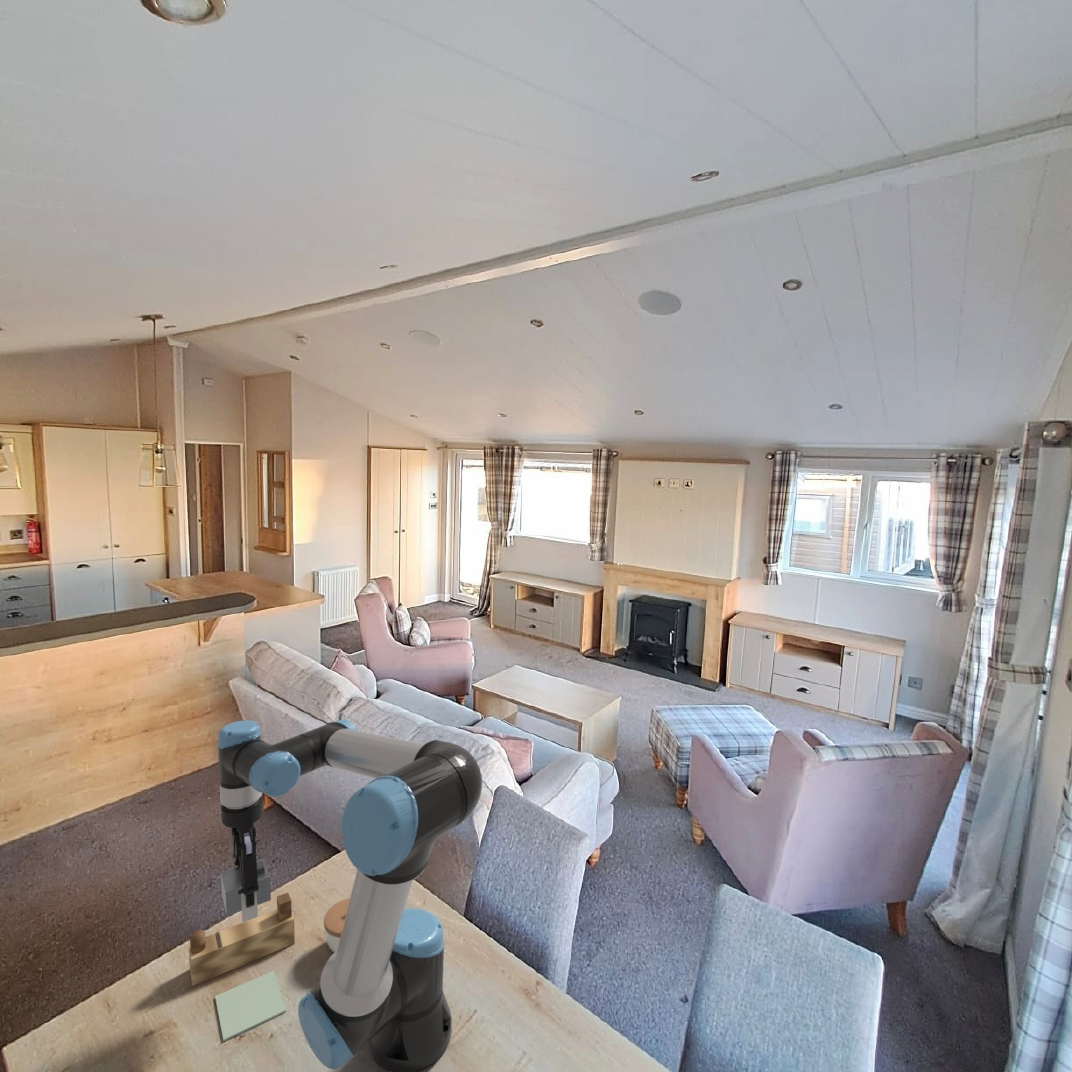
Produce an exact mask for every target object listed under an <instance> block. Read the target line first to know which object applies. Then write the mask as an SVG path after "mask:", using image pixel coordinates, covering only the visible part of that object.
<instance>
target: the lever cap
mask: <svg viewBox="0 0 1072 1072" xmlns="http://www.w3.org/2000/svg"><path fill="white" fill-rule="evenodd" d="M256 861H257V877H258V886H259V888H258V891H257V906H260V905H262V904H264V903H267V902H270V901H272V895H271V875H270V873H269V870H268V867H267V864H266V862H265V858H261V859H256ZM220 880H221V883H220V884H221V897H222V902H223V907H224V911H225V915H226V917H228V916H233V915H234V914H237V913H239V912H240V913H241V912H242V904H241V894H238V890H241V889H242V881H241V870H240V866H239V867H238V866H235V867H233V868H229V869H227V870H224V871H221V872H220Z"/></svg>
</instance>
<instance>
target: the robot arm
mask: <svg viewBox="0 0 1072 1072" xmlns="http://www.w3.org/2000/svg"><path fill="white" fill-rule="evenodd" d="M217 734H218V738H217V739H218V740H217V743H218V744H217V750H218V751H217V752H218V753H217V754H218V755H217V756H218V770H219V771H218V772H219V798H220V804H221V806H220V810H221V811H220V815H221V823H222V825H223V826H225V827H227V828H231V829H230V830H231V835H232V836H231V837H232V845H233V846H232V848H233V849H232V851H233V852H232V853H233V854H232V857H233V859H234V863H233V864H234V866H235V867H239V866H240V870H241V881H242V889H241V890H238V894H241V904H242V911H241V920H242V923H243V922H246V921H249V920H251V919H254V918H257V917H259V914H258V913H259V910H258V905H257V891H258V888H259V886H258V877H257V845H258V844H257V841H256V836H257V831H256V826H254V823H256V822H258V821H260V819H261V818H262V817H263V815H264V797H263V794H265V795H266V796H269V797H275V798H276V797H280V796H283V795H285V794H287V793H288V792H290V790H291V789H292V788H293V787H295V786H296V784H297V783H298V781H299V779H300V777H302V776H304V775H307V774H309V773H311V772H313V771H316V770H319V769H320V768H321V769H322V768H323V767H327V766H328V767H331V768H335V769H339V770H341V771H342V770H343V771H347V772H350V773H353V774H357V775H361V776H364V777H368V778H372V780H371V781H369V782H368V783H367V784H365V785H364V786H362V787H361V788H359V789H358V790H356V791H355V792H354V793H353V794H352V795H351V797H350V798H349V799H348V801H347V803H346V805H345V806H344V809H343V813H342V816H341V825H340V827H341V834H342V835H343V836H344V839H343V840H342V844H343V848H344V850H345V853H346V855H347V858H348V859H349V861H350V862H351V864H352V865H353V866H354V868H356V874H355V878H354V881H353V885H352V890H351V894H350V901H349V905H348V909H347V913H346V917H345V921H344V925H343V929H342V933H341V937H340V941H339V945H338V949H337V951H336V952H335V953H334V952H333V953H332V954H331V956H329V958H328V960H327V961H326V962H325V964H324V966H323V968H322V972H321V974H320V980H319V982H318V984H317V985H316V987H315V988H314V989H312V990H311V991H310V990H308V991H307V992H306V994H305V995H304V996H303V997H302V998H301V999H300V1001H299V1003H298V1008H297V1011H298V1012H297V1013H298V1020H299V1023H300V1027H301V1030H302V1033H303V1035H304V1037H305V1040H306V1042H307V1044H308V1046H309V1047H310V1049H311V1051H312V1053H313V1055H315V1057H316V1058H317V1060H318V1061H319V1062H320V1063H321V1064H322V1065H323V1066H324V1067H326V1068H328V1069H329V1070H337V1069H339V1068H341V1067H342V1066H344V1065H345V1064H346V1063H347V1062H349V1061H350V1060H351V1059H354V1056H355V1054H357V1053H359V1051H360V1050H361V1049H362V1048H364V1046H366V1045H367V1044H368V1043H369V1042H370V1043H369V1044H370V1045H369V1047H370V1051H371V1055H372V1057H373V1059H374V1061H375V1062H376V1063H377V1064H378V1066H380V1067H381V1068H382V1069H384V1070H386V1071H387V1072H422V1071H423V1070H426V1069H427V1068H429V1067H431V1066H432V1065H434V1064H435V1063H436V1062H437V1061H438V1060H439V1059H440V1058H441V1057H442V1056H443V1055H444V1053H445V1052H446V1050H447V1049H448V1046H449V1045H450V1041H451V1037H452V1029H453V1028H452V1026H453V1025H452V1023H453V1022H452V1013H451V1010H450V1009H451V1008H450V1006H449V1004H448V1002H447V1001H448V1000H447V998H446V996H445V993H444V990H443V989H444V987H443V986H444V956H445V955H444V953H445V952H444V951H445V939H444V930H443V924H442V923H441V921H440V920H439V918H438V917H437V916H436V915H435V914H433V913H432V912H430V911H428V910H425V909H421V908H418V907H417V908H411V907H410V908H405V907H406V906H407V905H406V904H407V901H408V897H409V893H410V889H411V887H412V883H413V881H414V880H416V879H417V878H419V877H420V876H421V875H422V873H424V871H425V869H426V868H427V866H428V863H429V861H430V858H431V854H432V851H433V847H434V844H435V843H436V842H437V840H438V839H440V838H441V837H443V836H444V835H445V834H447V833H448V832H450V831H451V830H453V829H454V828H456V827H457V826H458V825H460V824H462V823H463V822H464V821H466V820H467V819H468V818H469V817H470V816H471V815H472V814H473V812H474V811H475V809H476V807H477V805H478V804H479V801H480V798H481V794H482V790H483V775H482V772H481V769H480V766H479V764H478V763H479V762H477V759H476V758H475V757H474V755H472V753H470V751H468V750H467V749H466V748H464V747H462V746H460V745H458V744H456V743H453V742H449V741H444V740H437V739H433V740H429V741H426V742H425V743H421V742H417V741H416V742H415V741H410V740H407V739H401V738H395V737H390V736H385V735H380V734H375V733H369V732H365V731H359V730H357V727H356V726H355V724H353V723H352V722H351V721H350V720H348V719H340V720H336V721H330V722H328V723H326V724H323V725H322V726H319V727H317V728H314V729H311V730H309V731H306V732H303V733H300V734H298V735H295V736H292V737H290V738H288V739H284V740H281V741H279V742H276V743H274V744H270V743H268V742H266V741H265V740H262V732H261V727H260V724H259V723H258V722H257V721H254V720H248V719H247V720H237V721H234V722H230V723H228V724H226V725H224V726H222V727H221V729H220V730H219V731H218V733H217Z"/></svg>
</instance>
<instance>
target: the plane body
mask: <svg viewBox="0 0 1072 1072" xmlns="http://www.w3.org/2000/svg"><path fill="white" fill-rule="evenodd" d="M292 911H293V910H292V899H291V897H290V894H289V892H285V893H283V894H279V895H278V896H277V895H276V909H275V910H272V911H271V912H267V913H265V914H262V915H258V917H256V918H254V919H251V920H248V921H246V922H243V921H242V922H241V923H239V924H236V925H233V926H231V927H228V928H225V929H222V930H220V931H217V932H215V933H213V934H209V935H207V936H206V931H205V930H203V929H198V930H195V931H194V932H192V933H191V934H190V936H189V943H188V956H189V957H188V959H189V960H188V961H189V974H190V980H191V986H192V987H194V986H196V985H199V984H202V983H203V982H206V981H209V980H210V979H213V978H215V977H218V976H221V975H222V974H225V973H227V972H230V971H232V970H235V969H237V968H239V967H242V966H244V965H247V964H249V963H251V962H253V961H256V960H258V959H261V958H264V957H266V956H268V955H270V954H273V953H276V952H278V951H280V950H282V949H284V948H287V947H289V946H292V945H294V944H295V943H296V942H295V941H296V939H295V938H296V937H295V917H294V915H293V912H292Z"/></svg>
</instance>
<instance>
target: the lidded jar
mask: <svg viewBox="0 0 1072 1072" xmlns="http://www.w3.org/2000/svg"><path fill="white" fill-rule="evenodd" d="M349 901H350V898H345V899H343V900H340V901H338V902H336V903H335V904H332V906H331V907H330V908H329V909H328V910H327V912H326V913H325V916H324V918H323V925H324V935H325V941H326V944H327V946H328V948H329V949H330V950H331V951H332V952H333V954H334V953H335V952H336V951H337V949H338V945H339V941H340V937H341V933H342V929H343V925H344V921H345V917H346V913H347V909H348V905H349Z"/></svg>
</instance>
